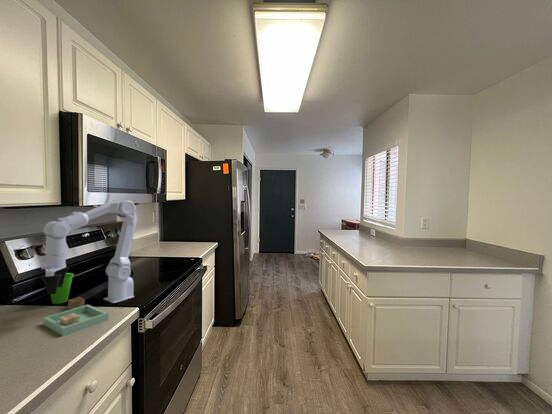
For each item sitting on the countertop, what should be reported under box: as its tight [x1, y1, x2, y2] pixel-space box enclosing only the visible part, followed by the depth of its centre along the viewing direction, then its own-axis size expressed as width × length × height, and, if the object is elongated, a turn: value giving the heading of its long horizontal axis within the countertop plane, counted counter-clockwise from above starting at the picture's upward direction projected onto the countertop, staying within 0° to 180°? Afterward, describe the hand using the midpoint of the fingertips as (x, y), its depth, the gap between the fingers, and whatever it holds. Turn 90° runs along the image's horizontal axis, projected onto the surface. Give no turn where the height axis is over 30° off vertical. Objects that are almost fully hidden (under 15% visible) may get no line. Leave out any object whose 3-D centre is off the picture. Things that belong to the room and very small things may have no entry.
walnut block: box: [67, 296, 86, 310], centre depth 107 cm, size 4×4×4 cm
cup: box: [49, 272, 75, 305], centre depth 113 cm, size 9×9×11 cm
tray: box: [42, 304, 109, 337], centre depth 95 cm, size 14×14×3 cm
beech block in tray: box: [60, 313, 79, 326], centre depth 90 cm, size 4×4×4 cm
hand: (55, 290), depth 99 cm, fingers open, 7 cm apart
